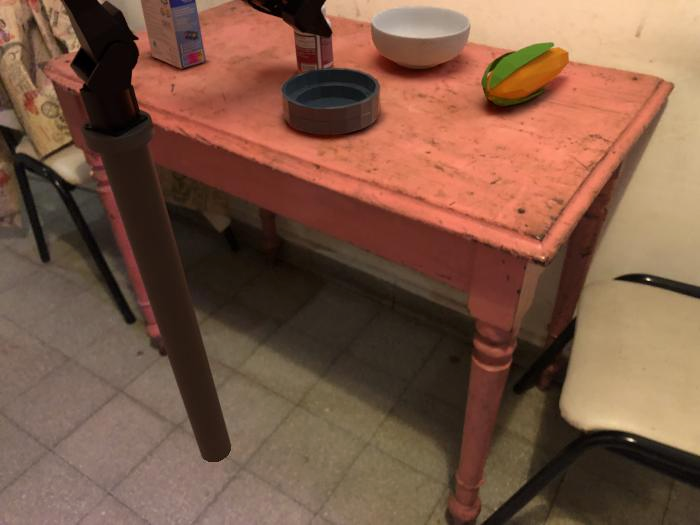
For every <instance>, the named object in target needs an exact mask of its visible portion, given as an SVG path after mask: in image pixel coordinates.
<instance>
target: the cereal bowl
mask: <svg viewBox="0 0 700 525" xmlns="http://www.w3.org/2000/svg"><path fill="white" fill-rule="evenodd" d="M470 33H471V19H470V18H469V16H467V15H465V14H464V13H462V12H460V11H458V10H454V9H450V8H447V7H441V6H433V5H402V6H395V7H389V8H386V9H384V10H381V11H379V12H377V13H376V14H374V15H373V16H372V18H371V22H370V35H371V40H372V44H373V46H374V47H375V49H376V50H377V52H378V53H379V54H380V55H382V56H383V57H384V58H386V59H388V60H390V62H391V61H392V62H395V63H396V64H397V65H399V66H401V67H403V68H406V69H409V70H410V69H411V70H426V69H431V68H434V67H438V65H440V64H444V63H447V62H449V61H451V60H452V59H455V58H456V57H457V56H458V55H460V54H461V53H462V52H463V50H464V49H465V47H466V46H467V43H468V41H469V37H470Z"/></svg>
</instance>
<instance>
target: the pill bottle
mask: <svg viewBox="0 0 700 525" xmlns="http://www.w3.org/2000/svg"><path fill="white" fill-rule="evenodd" d="M321 11H322V13H323V15H324V17H325V19H326V21H327V23H328V24H329V26H330V28H331V30H332V22H331V20H330V19H329V18H328V17H326V15H327V8H326V4H325V3H324V5H323V6H322V8H321ZM332 31H333V30H332ZM293 38H294V48H295V58H296V59H295V60H296V69H297V74H300V73H302V72H306V71H310V70H315V69H322V68H335V65H334V64H335V63H334V50H333V48H334V46H333V34H332V35H331V36H330V38H326V37H322V36H317V35H313V34H308V33H301V32H299V31H297V30H295V29H293Z"/></svg>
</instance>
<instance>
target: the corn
mask: <svg viewBox="0 0 700 525" xmlns="http://www.w3.org/2000/svg"><path fill="white" fill-rule="evenodd" d="M569 63H570V55H569V51H567V50H565V49H564V48H562V47H560V46H558V47H555V42H553V41H552V42H550V41H549V42H540V43H534V44H531V45H528V46H525V47H522V48H520V49H518V50H515V51H510V52H505V53H504V54H501V55H500V56H498V57H496V58H495V59H494V60H493V61H491V62H490V63H489V64H488V65H487V67H486V69H485V70H484V73H483V75H482V78H481V81H480V82H481V83H480V85H481V86H482V91H483V93H484V96H485V98H486V100H487V102H488V103H493V104H494V105H497V106H499V107H506V106H507V107H508V106H513V105H517V104H521V103H525V102H526V101H529V100H531V99H533V98H535V97H538V96H539V95H540V94H542V93H543V92H545V91H547V90H548V89H549V88H551V87H553V84H551V85H550V86H547V85H548V84H549V83H551V82H552V81H553V80H555V79H556V78H557V77H558V76H559V75H560V74H561V73H562V71H563V70H564V69H565V67H567V65H568V64H569ZM545 86H547V87H545Z"/></svg>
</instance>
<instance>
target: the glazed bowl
mask: <svg viewBox="0 0 700 525" xmlns="http://www.w3.org/2000/svg"><path fill="white" fill-rule="evenodd" d="M280 95H281V104H282V113H283V118H284V121H285V122H286V123H287V124H288V125H289V126H290V127H292V128H294V129H296V130H298V131H300V132H305V133H309V134H312V135H331V136H333V135H341V134H342V135H343V134H348V133H352V132H356V131H359V130H363V129H364V128H366V127H368V126H371V125H372V124H373V123H374V122H375V121H376V120H377V119H378V118H379V115H380V112H381V84H380V82H379V81H378V79H377V78H376V77H374V76H373V75H371V74H370V73H368V72H364V71H362V70H360V69H353V68H347V67H334V68H322V69H315V70H310V71H306V72H302V73H300V74H298V73H297V74H295V75H292V76H290V77H289V78H288V79H287V80H285V81H284V82H283V83H282V85H281V87H280Z"/></svg>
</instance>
